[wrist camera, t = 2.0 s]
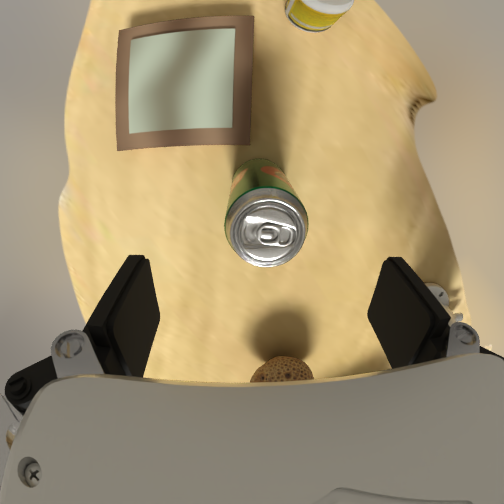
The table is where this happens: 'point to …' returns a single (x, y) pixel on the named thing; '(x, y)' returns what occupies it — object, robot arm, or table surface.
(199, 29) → the walnut picture frame
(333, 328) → the table surface
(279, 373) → the natural sponge
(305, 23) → the supplement bottle
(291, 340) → the table surface
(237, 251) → the soda can
